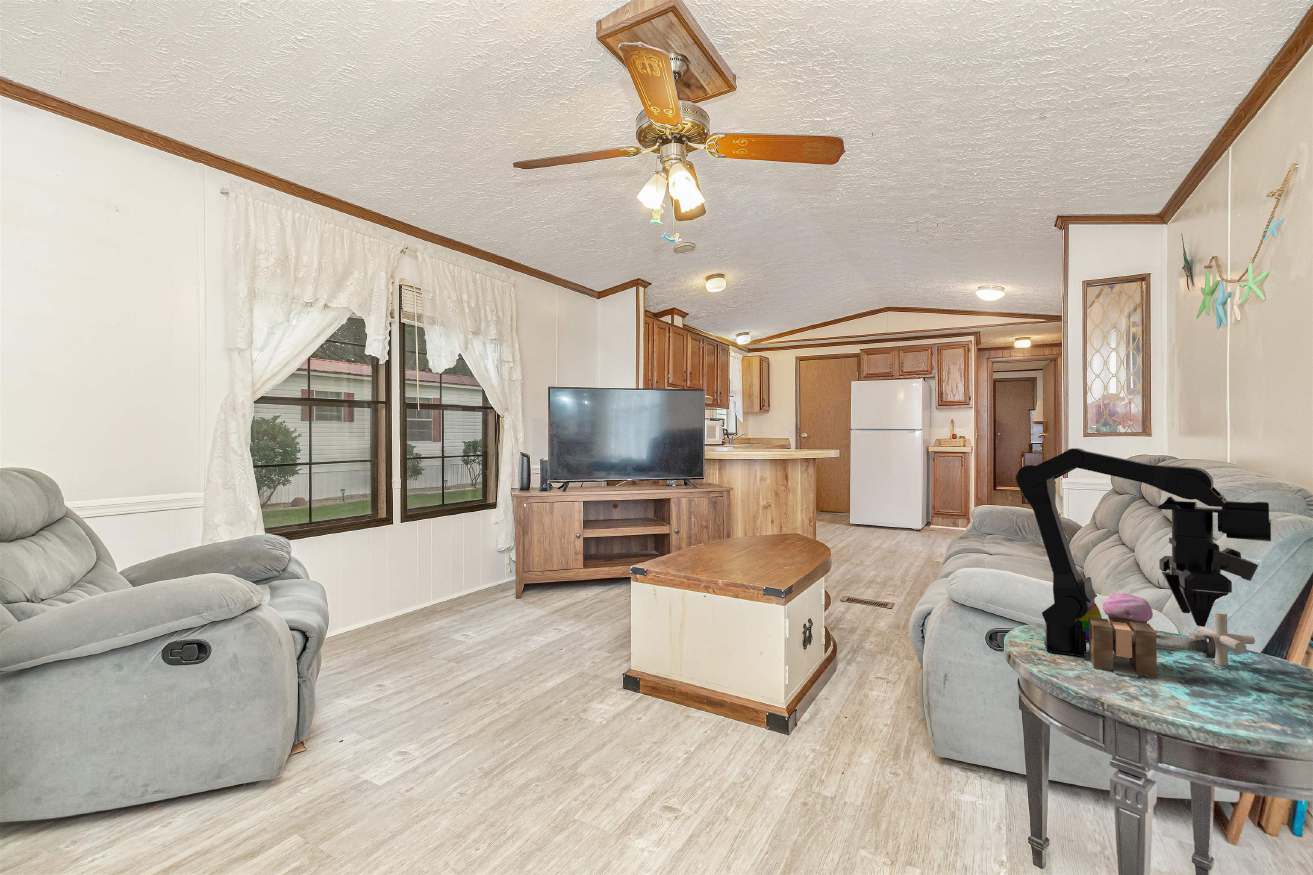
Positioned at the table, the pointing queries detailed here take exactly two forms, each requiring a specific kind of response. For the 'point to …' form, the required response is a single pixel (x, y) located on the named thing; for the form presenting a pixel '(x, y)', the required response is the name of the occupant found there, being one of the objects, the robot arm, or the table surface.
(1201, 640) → the shaft
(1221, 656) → the pipe connector
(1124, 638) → the spacer
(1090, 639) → the pillow blocks
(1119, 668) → the mat
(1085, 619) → the decorative egg
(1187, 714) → the table surface
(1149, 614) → the cupcake
